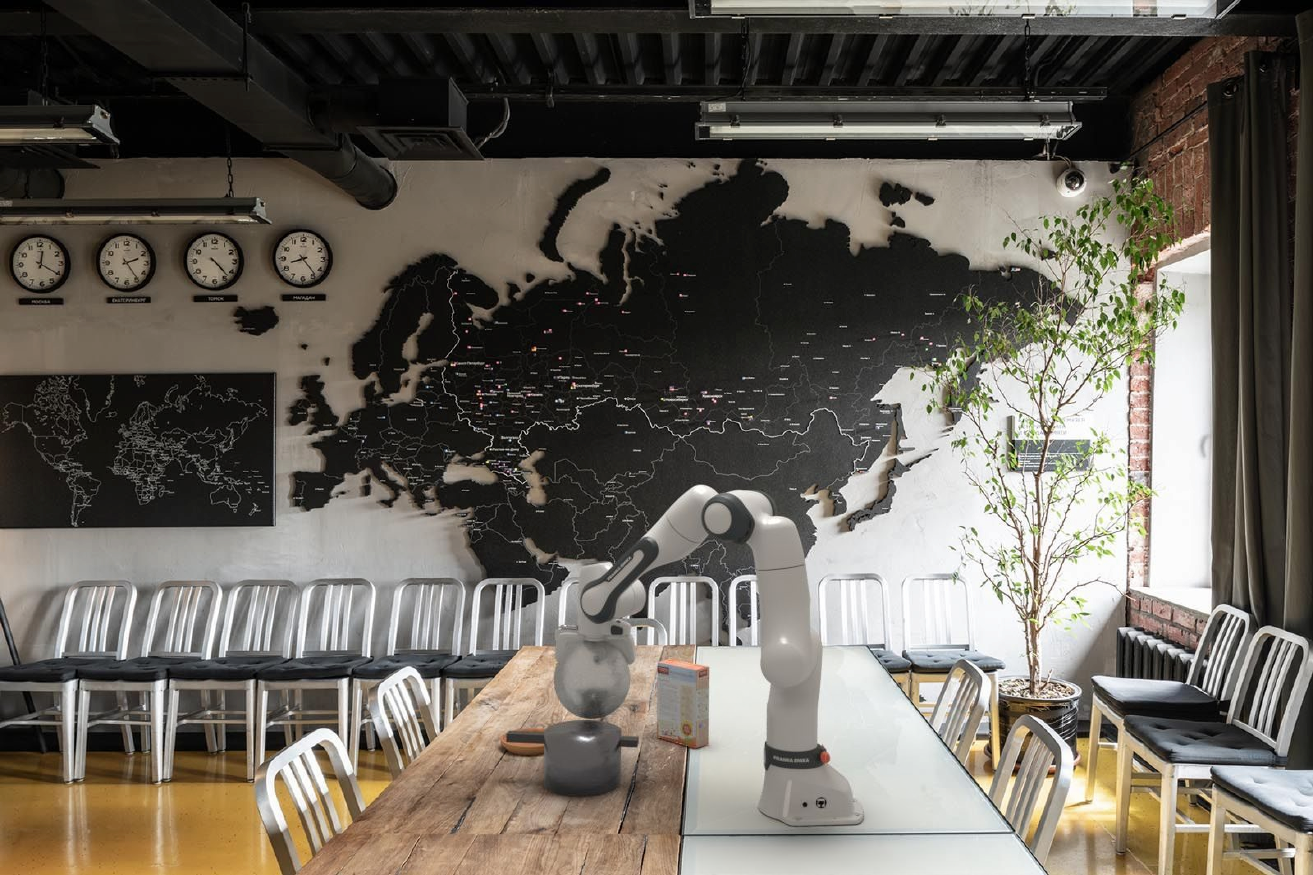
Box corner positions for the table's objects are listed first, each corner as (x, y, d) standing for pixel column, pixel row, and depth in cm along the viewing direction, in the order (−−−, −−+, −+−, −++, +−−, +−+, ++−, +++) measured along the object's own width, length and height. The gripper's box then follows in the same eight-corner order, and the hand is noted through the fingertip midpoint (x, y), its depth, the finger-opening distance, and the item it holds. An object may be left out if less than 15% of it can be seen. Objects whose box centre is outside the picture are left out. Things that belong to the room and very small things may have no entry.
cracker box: (709, 745, 247) (710, 665, 247) (695, 750, 243) (695, 669, 243) (670, 733, 257) (671, 657, 257) (655, 738, 252) (656, 660, 252)
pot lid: (628, 720, 227) (630, 719, 230) (631, 640, 230) (632, 640, 233) (551, 717, 228) (554, 716, 232) (555, 638, 232) (558, 638, 235)
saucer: (536, 734, 255) (537, 723, 255) (574, 748, 244) (574, 737, 244) (487, 747, 244) (488, 735, 244) (524, 762, 232) (524, 750, 232)
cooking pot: (642, 772, 226) (642, 722, 226) (632, 799, 208) (633, 745, 208) (516, 766, 229) (517, 717, 229) (496, 792, 211) (497, 739, 211)
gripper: (552, 626, 232) (551, 682, 232) (633, 629, 230) (633, 685, 229) (557, 622, 238) (556, 676, 238) (636, 624, 236) (636, 679, 236)
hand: (595, 680), depth 234 cm, fingers closed
